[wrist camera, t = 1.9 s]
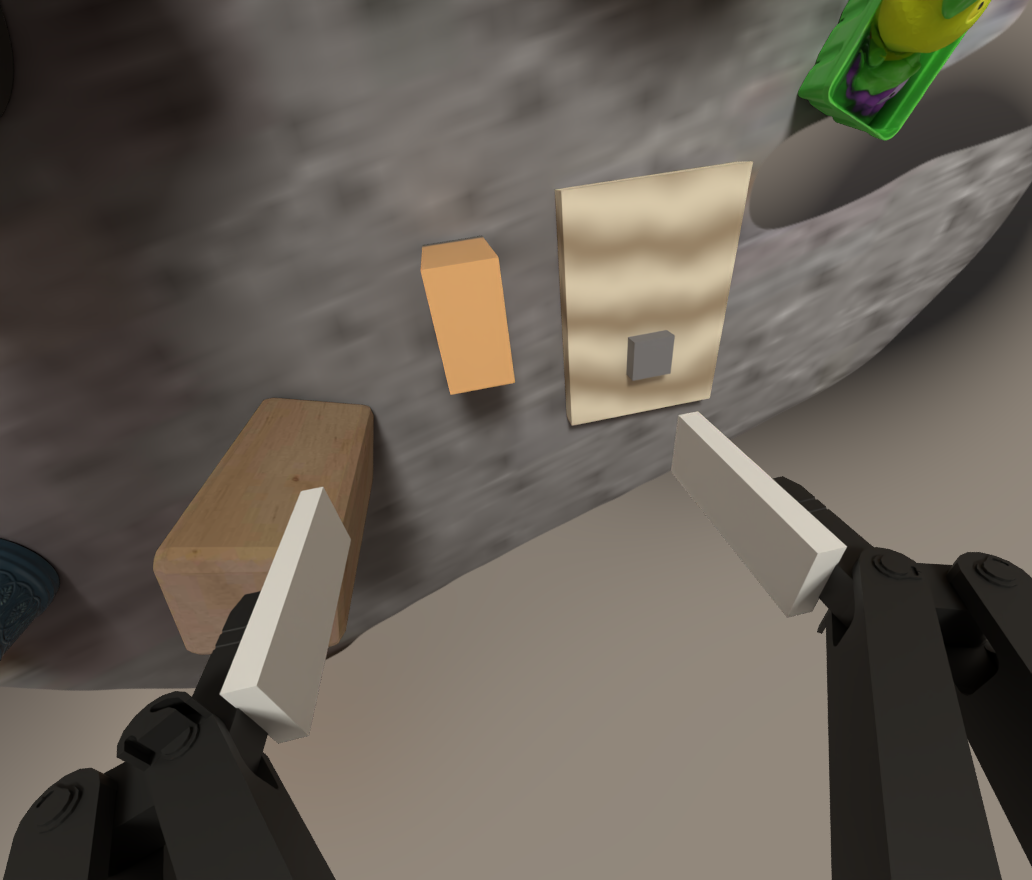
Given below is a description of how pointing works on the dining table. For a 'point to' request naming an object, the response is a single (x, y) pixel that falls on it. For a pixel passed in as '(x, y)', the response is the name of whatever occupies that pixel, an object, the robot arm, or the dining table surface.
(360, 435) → the wooden block
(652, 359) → the gray square block
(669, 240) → the birch board
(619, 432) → the dining table surface
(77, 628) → the dining table surface
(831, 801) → the robot arm
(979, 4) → the fruit basket
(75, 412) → the dining table surface
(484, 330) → the block
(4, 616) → the canister
